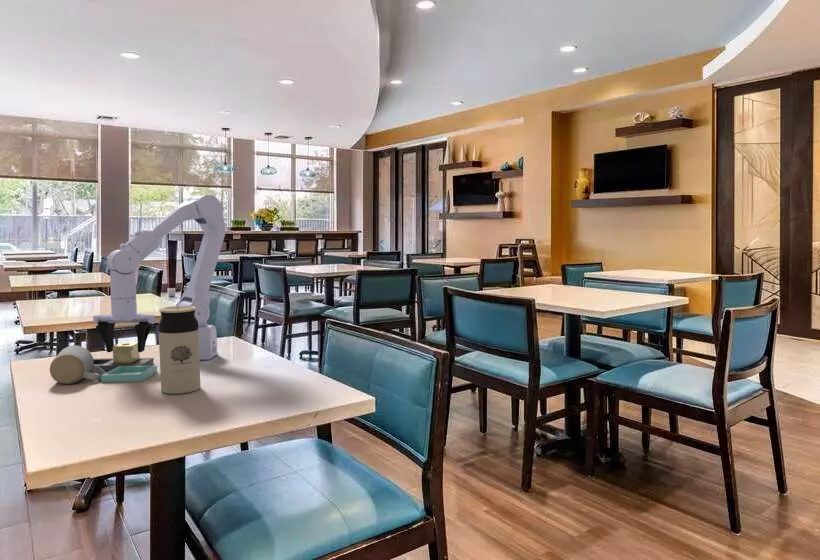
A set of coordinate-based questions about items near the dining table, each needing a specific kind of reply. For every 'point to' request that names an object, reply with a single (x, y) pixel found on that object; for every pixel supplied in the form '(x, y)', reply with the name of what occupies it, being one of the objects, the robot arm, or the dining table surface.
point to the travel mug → (179, 350)
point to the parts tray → (129, 374)
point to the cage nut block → (125, 353)
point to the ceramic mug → (74, 366)
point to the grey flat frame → (108, 364)
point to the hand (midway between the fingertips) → (125, 351)
